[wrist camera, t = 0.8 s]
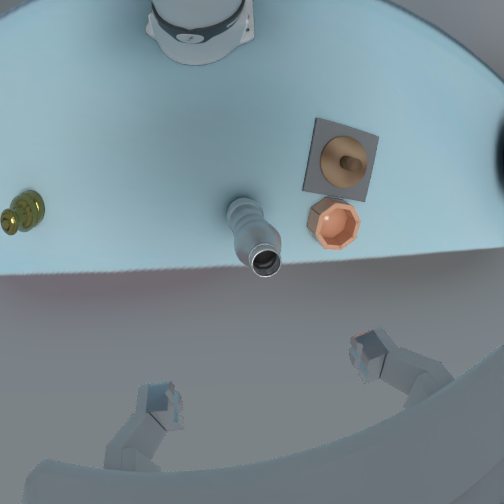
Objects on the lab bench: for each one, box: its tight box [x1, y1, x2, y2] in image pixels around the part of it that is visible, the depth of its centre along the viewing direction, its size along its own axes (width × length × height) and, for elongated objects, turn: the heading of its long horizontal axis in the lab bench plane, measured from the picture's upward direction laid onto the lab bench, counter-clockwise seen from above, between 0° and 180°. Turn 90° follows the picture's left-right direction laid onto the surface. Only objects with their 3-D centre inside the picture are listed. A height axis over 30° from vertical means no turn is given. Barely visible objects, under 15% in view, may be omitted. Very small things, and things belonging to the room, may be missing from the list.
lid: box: [320, 136, 367, 188], centre depth 45 cm, size 10×10×5 cm
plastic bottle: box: [226, 197, 281, 277], centre depth 40 cm, size 6×7×20 cm
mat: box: [302, 118, 379, 202], centre depth 48 cm, size 14×14×1 cm
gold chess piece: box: [0, 191, 44, 235], centre depth 36 cm, size 7×8×10 cm
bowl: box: [307, 197, 360, 250], centre depth 51 cm, size 9×9×4 cm
